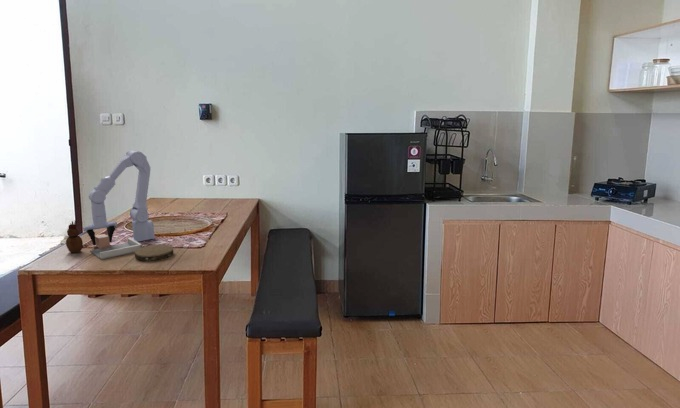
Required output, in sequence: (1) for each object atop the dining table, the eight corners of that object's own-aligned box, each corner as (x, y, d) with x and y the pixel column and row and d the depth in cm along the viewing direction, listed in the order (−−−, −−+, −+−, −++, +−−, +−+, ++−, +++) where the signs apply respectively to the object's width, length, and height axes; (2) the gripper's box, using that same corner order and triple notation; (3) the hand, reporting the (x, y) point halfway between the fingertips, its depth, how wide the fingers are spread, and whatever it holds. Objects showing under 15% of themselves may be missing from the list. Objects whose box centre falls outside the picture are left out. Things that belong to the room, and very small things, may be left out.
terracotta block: (105, 243, 232) (104, 233, 231) (110, 246, 227) (108, 236, 226) (95, 245, 229) (94, 235, 228) (100, 248, 224) (98, 238, 223)
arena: (130, 243, 232) (129, 237, 231) (142, 250, 221) (142, 244, 220) (90, 251, 220) (89, 245, 219) (101, 259, 209) (100, 252, 208)
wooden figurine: (85, 251, 220) (82, 219, 217) (73, 254, 215) (69, 222, 212) (77, 249, 224) (73, 217, 221) (65, 252, 219) (60, 220, 216)
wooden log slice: (142, 251, 221) (141, 245, 220) (177, 250, 222) (177, 244, 221) (129, 262, 205) (129, 256, 204) (167, 261, 206) (167, 255, 205)
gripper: (112, 211, 233) (115, 238, 236) (79, 216, 223) (83, 244, 226) (117, 214, 228) (120, 241, 231) (84, 219, 218) (87, 247, 221)
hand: (102, 243), depth 228 cm, fingers open, 6 cm apart
